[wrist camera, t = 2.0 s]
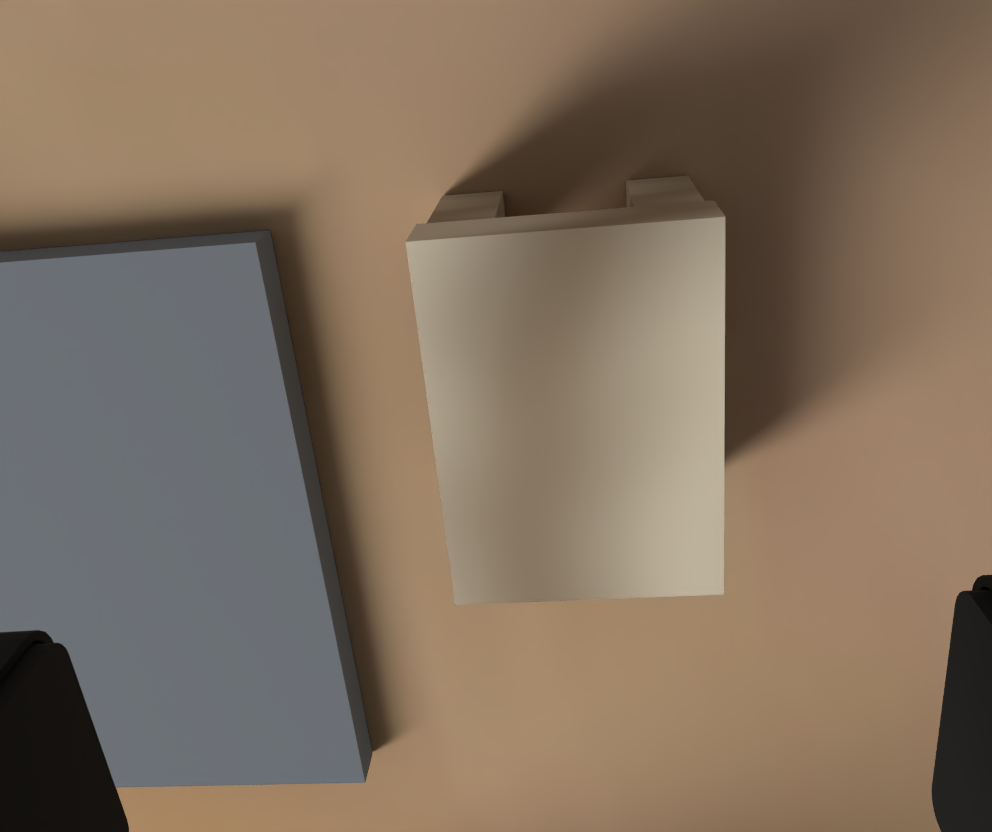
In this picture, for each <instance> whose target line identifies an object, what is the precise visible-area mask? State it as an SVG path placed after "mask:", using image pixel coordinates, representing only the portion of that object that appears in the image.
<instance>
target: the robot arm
mask: <svg viewBox="0 0 992 832" xmlns="http://www.w3.org/2000/svg"><path fill="white" fill-rule="evenodd" d="M932 801H933V807H934V812H935V816H936V819H937V822H938V825H939V827H940V829H941V832H992V575H982V576H980V577H978V578H977V579H976V581H975V583H974V585H973V589H972V591H962V592H960V593H959V595H958V596H957V599H956V603H955V610H954V618H953V625H952V633H951V641H950V649H949V657H948V665H947V673H946V681H945V688H944V696H943V704H942V712H941V720H940V728H939V736H938V743H937V751H936V759H935V767H934V775H933V783H932ZM0 832H129V826H128V822H127V819H126V816H125V813H124V810H123V807H122V804H121V801H120V799H119V796H118V793H117V790H116V787H115V784H114V781H113V779H112V776H111V773H110V770H109V767H108V764H107V761H106V759H105V756H104V753H103V750H102V747H101V744H100V741H99V739H98V736H97V733H96V730H95V727H94V724H93V721H92V719H91V716H90V713H89V710H88V707H87V704H86V701H85V699H84V696H83V693H82V690H81V687H80V684H79V681H78V679H77V676H76V673H75V670H74V667H73V664H72V661H71V659H70V656H69V653H68V651H67V649H66V647H64V646H63V645H62V644H60V643H54V642H53V640H52V638H51V637H50V636H49V635H48V634H47V633H46V632H44V631H40V630H31V631H14V632H0Z"/></svg>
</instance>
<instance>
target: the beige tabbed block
mask: <svg viewBox="0 0 992 832" xmlns="http://www.w3.org/2000/svg"><path fill="white" fill-rule="evenodd" d="M626 197H627V207H625V208H613V209H600V210H588V211H575V212H563V213H550V214H538V215H525V216H513V217H505V209H504V198H503V191H494V192H482V193H470V194H458V195H446V196H442V198H441V199H440V201H439V203H438V205H437V206H436V208H435V210H434V211H433V213H432V215H431V217H430V218H429V220H428V222H427V223H425V224H416V226H415V227H414V229H413V231H412V232H411V234H410V236H409V237H408V239H407V240H406V248H407V256H408V263H409V270H410V277H411V285H412V292H413V299H414V307H415V314H416V321H417V329H418V336H419V343H420V351H421V358H422V365H423V373H424V380H425V387H426V395H427V402H428V409H429V417H430V424H431V431H432V438H433V446H434V453H435V460H436V468H437V475H438V482H439V490H440V497H441V504H442V512H443V519H444V526H445V534H446V541H447V548H448V556H449V563H450V570H451V577H452V585H453V592H454V599H455V605H462V604H488V603H515V602H541V601H567V600H593V599H619V598H645V597H671V596H697V595H723V594H724V428H725V215H724V214H723V212H722V211H721V209H720V208H719V206H718V205H717V203H716V202H715V200H713V201H704V199H703V198H702V196H701V194H700V193H699V191H698V190H697V188H696V186H695V185H694V183H693V182H692V180H691V178H690V177H689V175H688V176H675V177H663V178H651V179H639V180H627V181H626Z"/></svg>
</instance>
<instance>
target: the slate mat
mask: <svg viewBox="0 0 992 832" xmlns="http://www.w3.org/2000/svg"><path fill="white" fill-rule="evenodd" d="M31 630H40V631H44V632H46V633H47V634H48V635H49V636H50V637H51V638H52V640H53V642H54V643H60V644H62V645H63V646H64V647H66V649H67V651H68V653H69V656H70V659H71V661H72V664H73V667H74V670H75V673H76V676H77V679H78V681H79V684H80V687H81V690H82V693H83V696H84V699H85V701H86V704H87V707H88V710H89V713H90V716H91V719H92V721H93V724H94V727H95V730H96V733H97V736H98V739H99V741H100V744H101V747H102V750H103V753H104V756H105V759H106V761H107V764H108V767H109V770H110V773H111V776H112V779H113V781H114V784H115V787H163V786H215V785H267V784H319V783H365V781H366V777H367V773H368V769H369V765H370V761H371V757H372V749H371V744H370V738H369V733H368V728H367V723H366V718H365V713H364V708H363V703H362V698H361V692H360V687H359V682H358V677H357V672H356V667H355V662H354V657H353V652H352V646H351V641H350V636H349V631H348V626H347V621H346V616H345V611H344V605H343V600H342V595H341V590H340V585H339V580H338V575H337V570H336V565H335V559H334V554H333V549H332V544H331V539H330V534H329V529H328V524H327V519H326V513H325V508H324V503H323V498H322V493H321V488H320V483H319V478H318V473H317V467H316V462H315V457H314V452H313V447H312V442H311V437H310V432H309V427H308V421H307V416H306V411H305V406H304V401H303V396H302V391H301V386H300V381H299V375H298V370H297V365H296V360H295V355H294V350H293V345H292V340H291V335H290V329H289V324H288V319H287V314H286V309H285V304H284V299H283V294H282V288H281V283H280V278H279V273H278V268H277V263H276V258H275V253H274V248H273V242H272V237H271V232H270V230H264V231H252V232H240V233H227V234H215V235H202V236H190V237H178V238H165V239H153V240H140V241H128V242H116V243H103V244H91V245H79V246H66V247H54V248H41V249H29V250H17V251H4V252H0V632H14V631H31Z"/></svg>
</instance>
